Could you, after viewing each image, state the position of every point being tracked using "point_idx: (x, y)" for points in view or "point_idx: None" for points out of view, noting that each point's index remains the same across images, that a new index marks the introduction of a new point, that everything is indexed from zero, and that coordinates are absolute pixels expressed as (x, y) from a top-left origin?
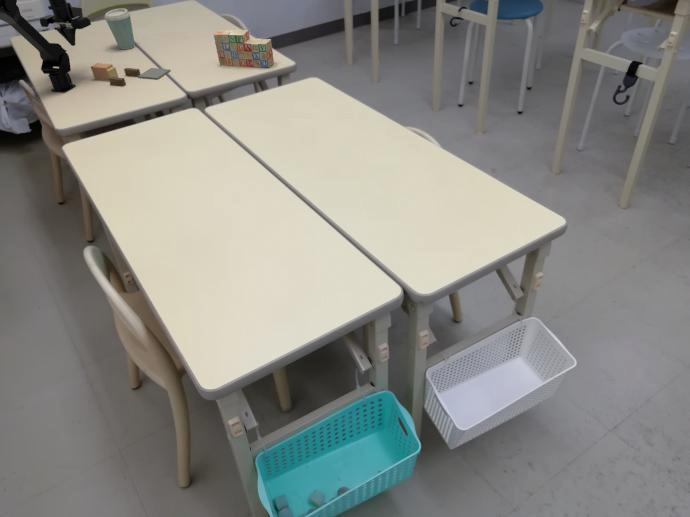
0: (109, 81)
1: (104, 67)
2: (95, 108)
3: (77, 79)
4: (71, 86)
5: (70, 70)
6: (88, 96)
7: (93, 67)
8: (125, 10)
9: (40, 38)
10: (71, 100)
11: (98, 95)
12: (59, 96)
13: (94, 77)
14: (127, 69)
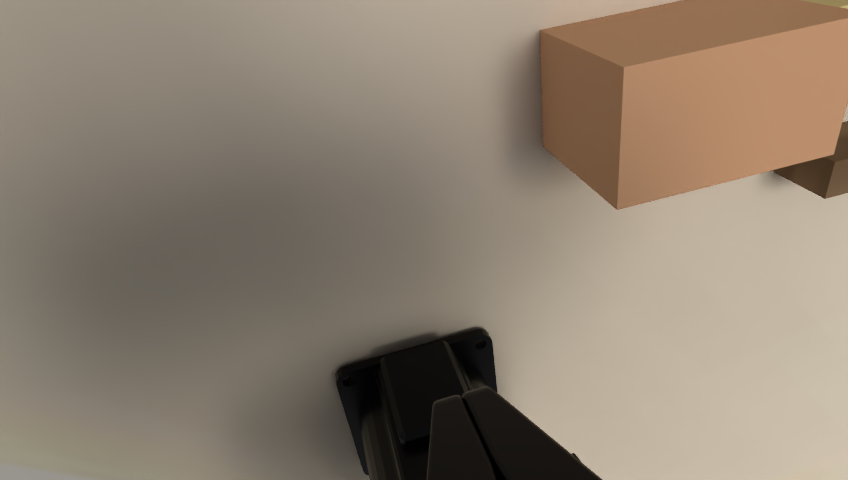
0: (800, 185)
1: (812, 148)
2: (834, 428)
3: (352, 231)
4: (485, 372)
5: (574, 456)
6: (710, 374)
7: (653, 195)
8: None
9: None
10: (634, 452)
11: (770, 334)
12: None
13: (553, 153)
14: None
